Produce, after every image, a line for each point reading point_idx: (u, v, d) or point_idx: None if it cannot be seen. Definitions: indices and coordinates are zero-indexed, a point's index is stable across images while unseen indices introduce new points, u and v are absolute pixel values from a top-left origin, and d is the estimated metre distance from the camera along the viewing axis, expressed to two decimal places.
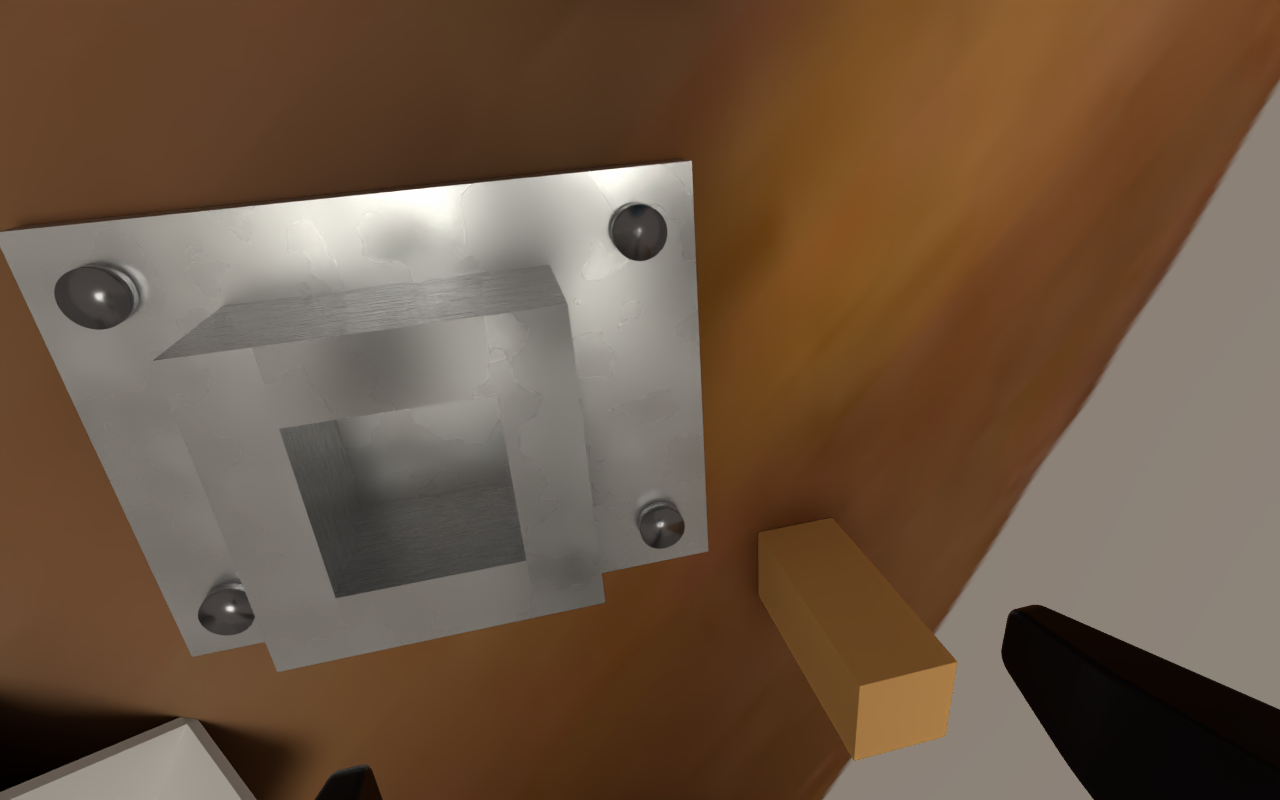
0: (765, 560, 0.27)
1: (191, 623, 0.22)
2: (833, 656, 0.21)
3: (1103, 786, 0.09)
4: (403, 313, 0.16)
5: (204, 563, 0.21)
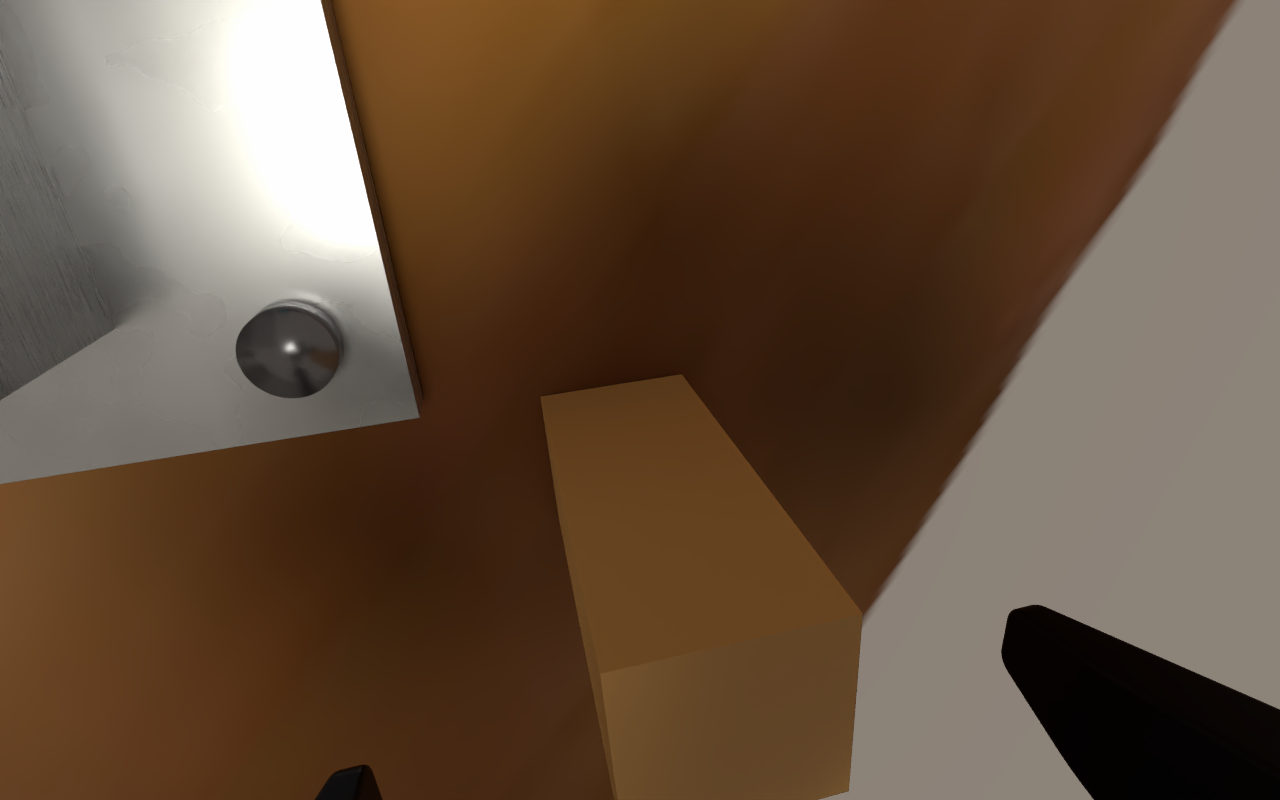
0: (548, 445, 0.14)
1: None
2: (583, 606, 0.09)
3: (1103, 786, 0.09)
4: None
5: None
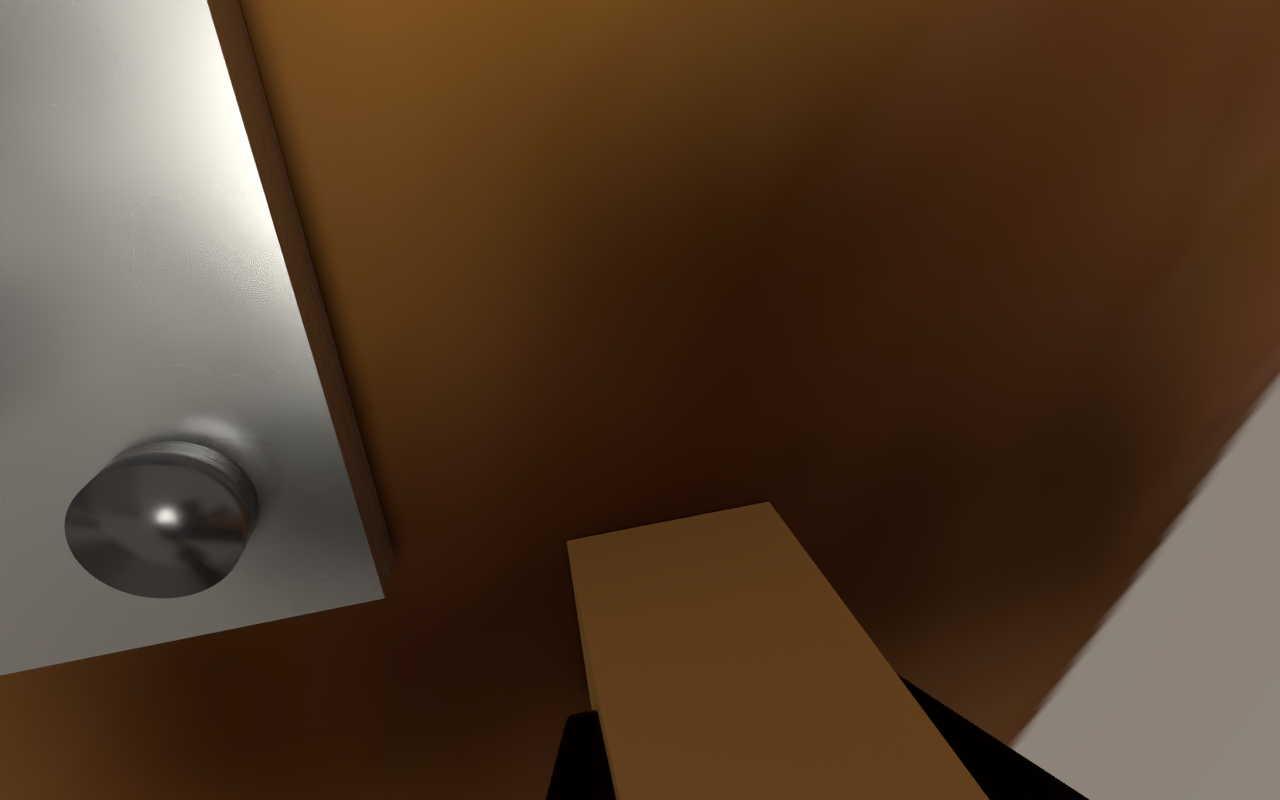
0: (579, 618, 0.10)
1: None
2: None
3: None
4: None
5: None
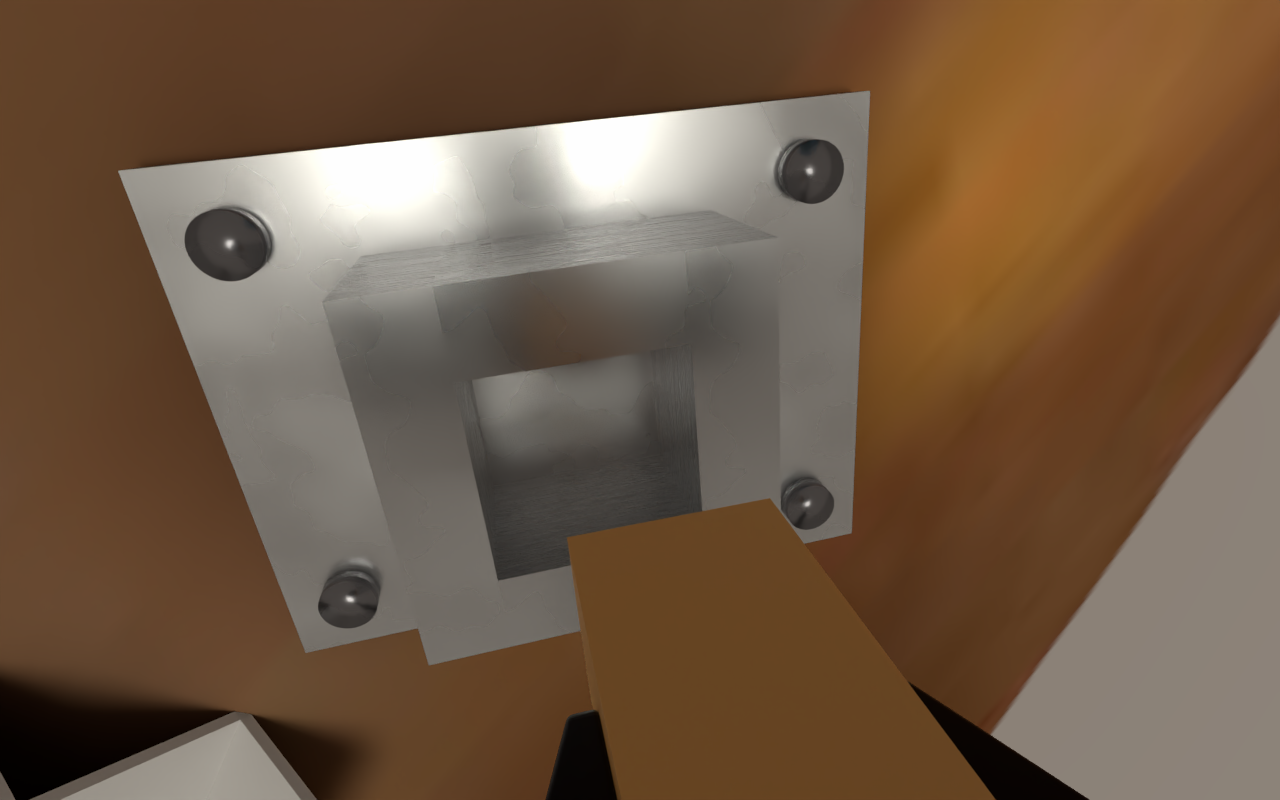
0: (579, 615, 0.10)
1: (307, 615, 0.20)
2: None
3: None
4: (584, 252, 0.14)
5: (324, 548, 0.19)
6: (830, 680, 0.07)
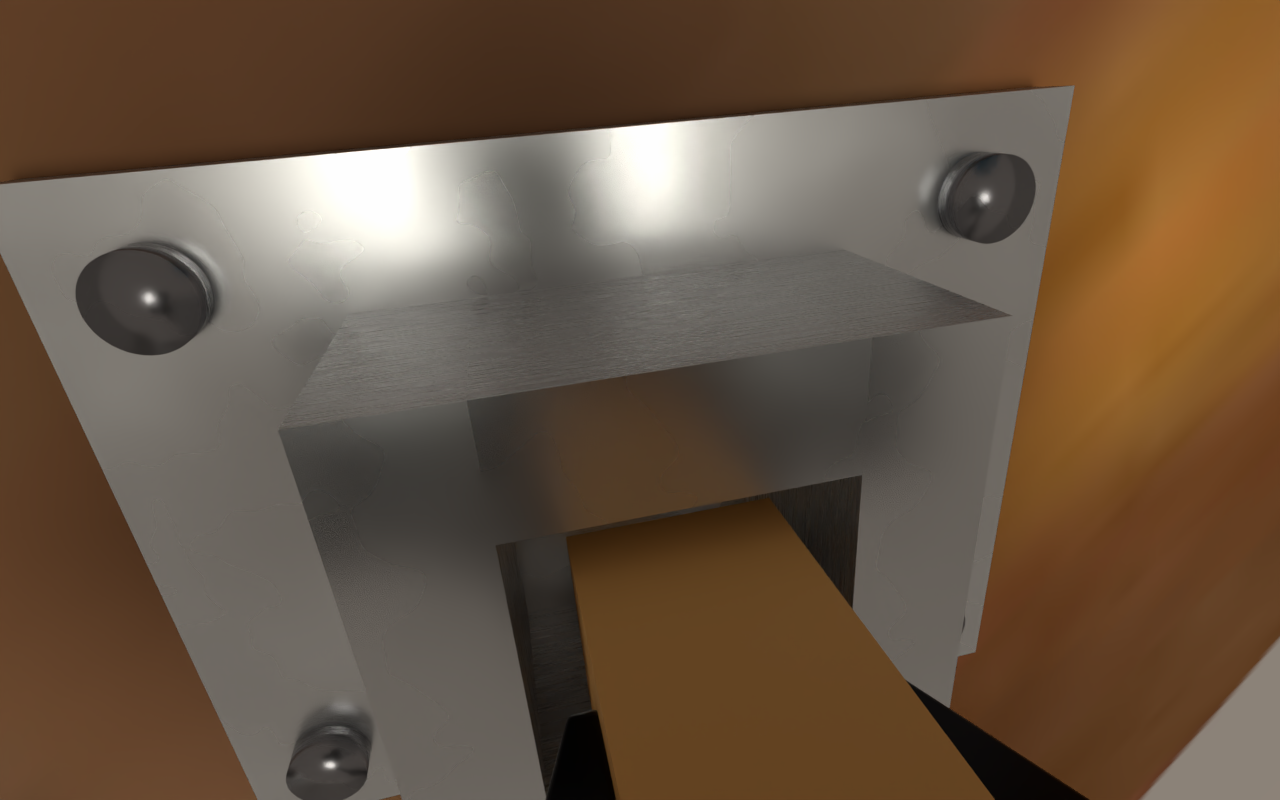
0: (578, 614, 0.10)
1: (272, 782, 0.15)
2: None
3: None
4: (700, 330, 0.09)
5: (295, 700, 0.14)
6: (829, 680, 0.07)
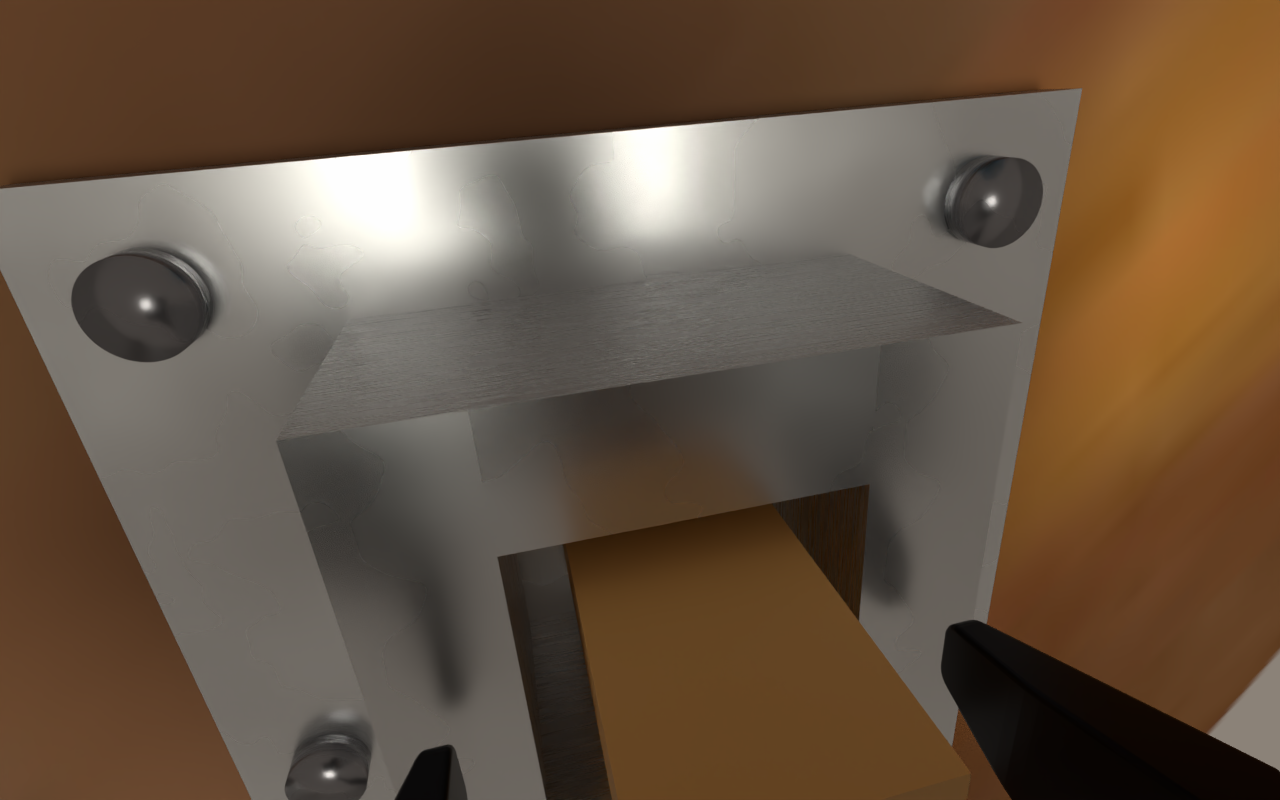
0: None
1: (270, 792, 0.15)
2: (605, 744, 0.07)
3: None
4: (704, 337, 0.09)
5: (294, 709, 0.14)
6: (729, 521, 0.10)
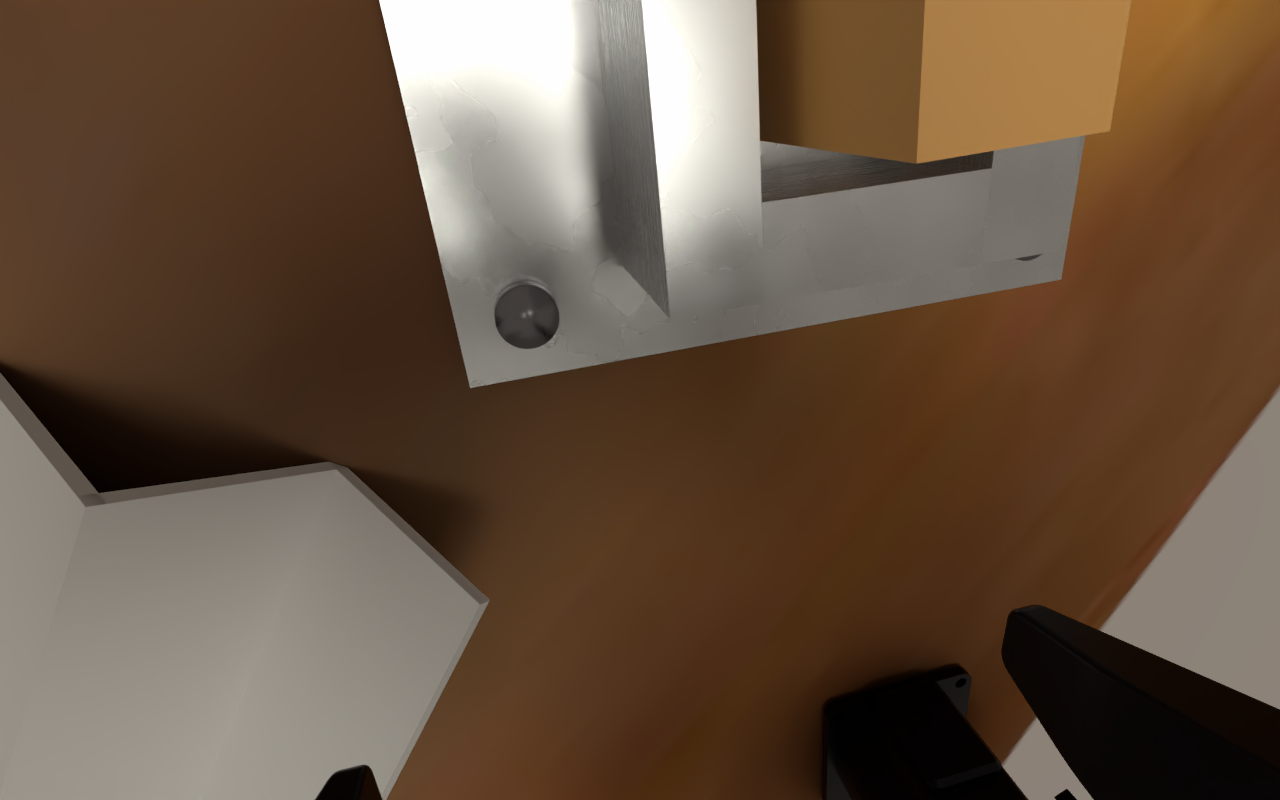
0: None
1: (475, 338, 0.17)
2: None
3: (1103, 786, 0.09)
4: None
5: (501, 248, 0.17)
6: None
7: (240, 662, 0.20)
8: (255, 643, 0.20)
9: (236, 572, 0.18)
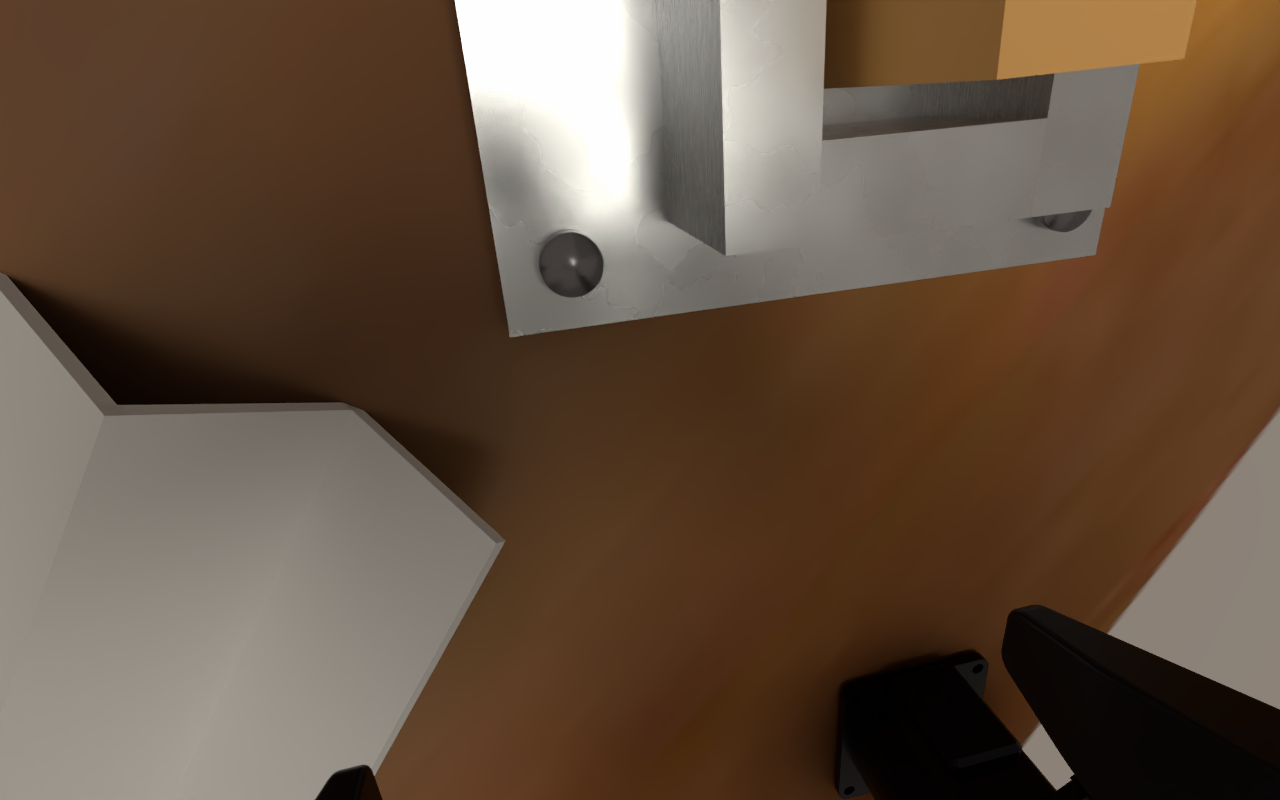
0: None
1: (518, 286, 0.17)
2: None
3: (1103, 786, 0.09)
4: None
5: (548, 195, 0.17)
6: None
7: (245, 607, 0.20)
8: (260, 588, 0.20)
9: (247, 508, 0.18)
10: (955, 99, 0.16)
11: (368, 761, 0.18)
